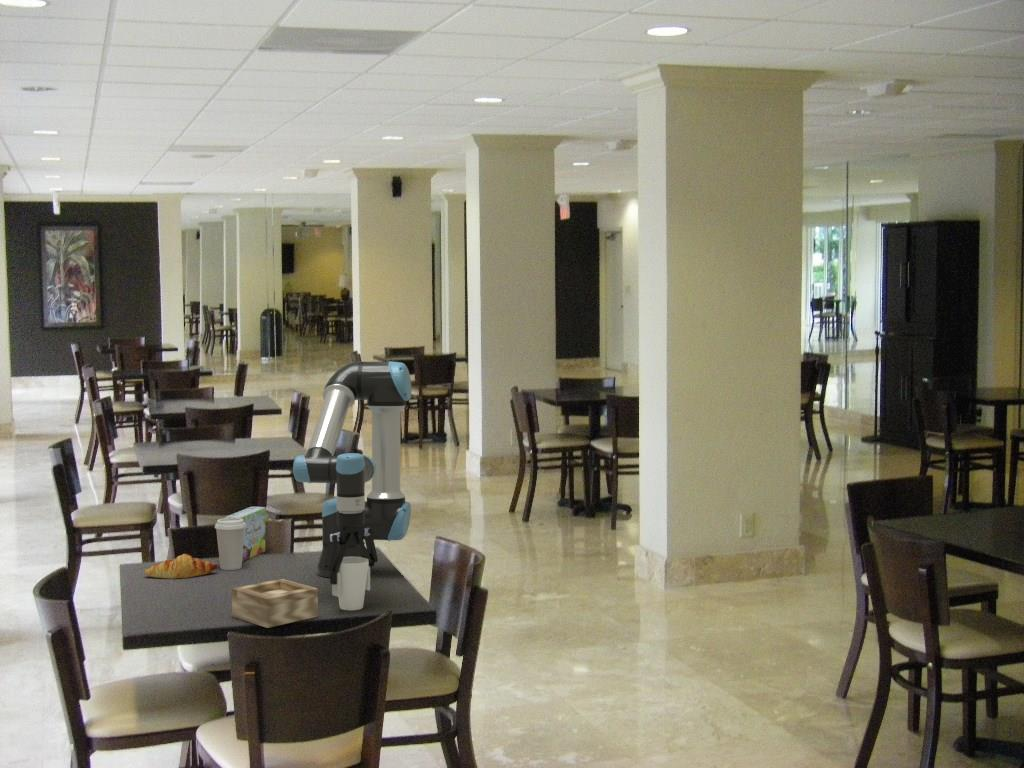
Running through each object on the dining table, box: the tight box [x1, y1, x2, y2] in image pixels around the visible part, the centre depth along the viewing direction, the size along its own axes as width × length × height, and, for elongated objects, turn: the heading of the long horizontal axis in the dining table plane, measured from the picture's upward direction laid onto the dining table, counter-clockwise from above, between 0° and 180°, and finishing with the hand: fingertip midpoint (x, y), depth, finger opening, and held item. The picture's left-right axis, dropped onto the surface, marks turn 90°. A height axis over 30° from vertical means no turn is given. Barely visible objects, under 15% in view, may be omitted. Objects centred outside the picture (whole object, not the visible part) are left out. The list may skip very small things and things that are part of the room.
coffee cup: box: [214, 517, 246, 571], centre depth 383 cm, size 10×10×15 cm
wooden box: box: [231, 578, 319, 629], centre depth 326 cm, size 16×16×8 cm
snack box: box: [224, 506, 267, 563], centre depth 398 cm, size 21×6×15 cm, turn 168°
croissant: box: [144, 553, 218, 580], centre depth 373 cm, size 21×10×8 cm, turn 108°
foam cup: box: [338, 557, 369, 611], centre depth 335 cm, size 10×9×13 cm
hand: (351, 592), depth 335 cm, fingers closed on foam cup, 9 cm apart
